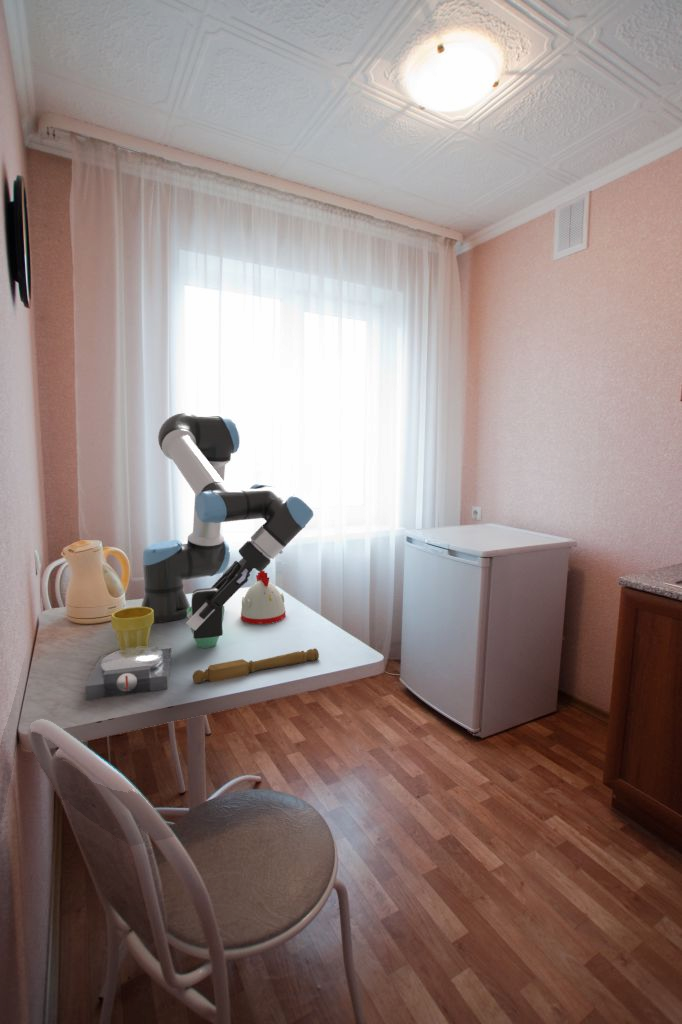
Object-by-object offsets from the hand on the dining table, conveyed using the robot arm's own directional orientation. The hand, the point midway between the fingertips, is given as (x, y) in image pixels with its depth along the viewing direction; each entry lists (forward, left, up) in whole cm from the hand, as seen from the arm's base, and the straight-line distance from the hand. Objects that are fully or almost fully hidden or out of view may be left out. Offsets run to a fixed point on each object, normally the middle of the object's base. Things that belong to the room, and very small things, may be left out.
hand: (191, 622), depth 112 cm
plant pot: (-19, -15, -12) cm, 27 cm away
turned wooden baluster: (+4, +15, -12) cm, 20 cm away
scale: (0, -13, -12) cm, 18 cm away
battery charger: (0, +4, -4) cm, 5 cm away
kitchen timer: (-34, +21, -12) cm, 42 cm away
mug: (-18, +4, -12) cm, 22 cm away
